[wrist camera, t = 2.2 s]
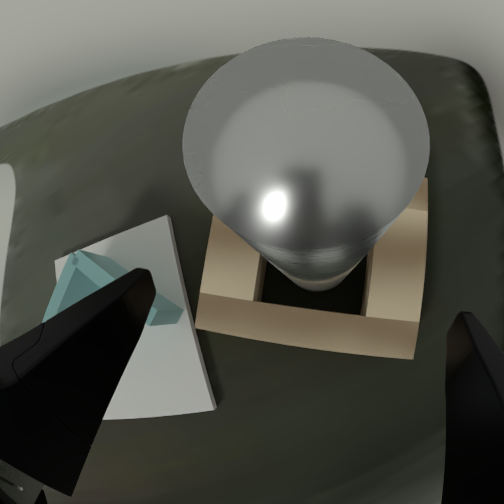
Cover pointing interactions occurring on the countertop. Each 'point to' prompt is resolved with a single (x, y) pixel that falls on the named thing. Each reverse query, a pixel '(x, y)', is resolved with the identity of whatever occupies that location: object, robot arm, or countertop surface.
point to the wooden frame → (319, 321)
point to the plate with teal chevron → (156, 327)
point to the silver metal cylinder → (307, 153)
